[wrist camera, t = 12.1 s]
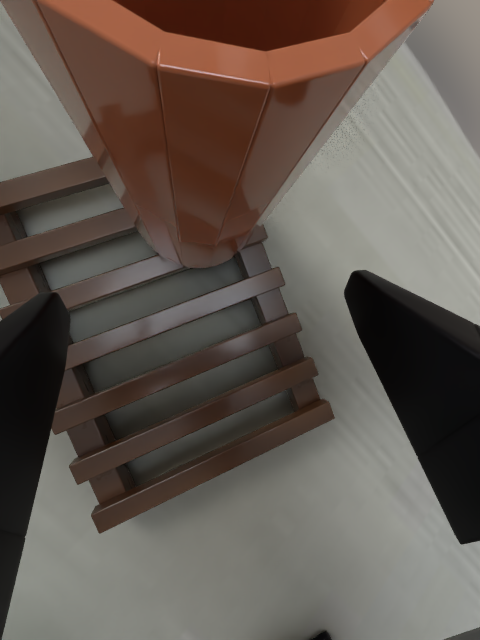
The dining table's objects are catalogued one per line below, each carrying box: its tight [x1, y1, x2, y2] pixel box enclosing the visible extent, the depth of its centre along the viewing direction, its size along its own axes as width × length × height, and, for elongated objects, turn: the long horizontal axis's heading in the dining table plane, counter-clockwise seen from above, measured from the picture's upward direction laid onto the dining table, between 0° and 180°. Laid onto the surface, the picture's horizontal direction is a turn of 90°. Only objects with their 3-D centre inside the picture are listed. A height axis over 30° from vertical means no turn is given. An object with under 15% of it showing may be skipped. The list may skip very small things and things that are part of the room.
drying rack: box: [0, 157, 335, 534], centre depth 17 cm, size 20×15×2 cm
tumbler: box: [0, 0, 434, 268], centre depth 10 cm, size 7×7×13 cm
